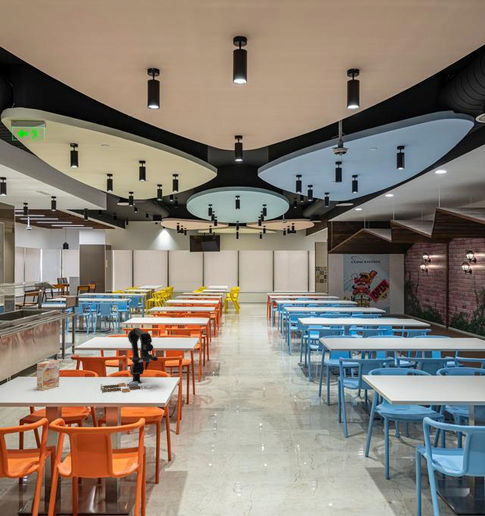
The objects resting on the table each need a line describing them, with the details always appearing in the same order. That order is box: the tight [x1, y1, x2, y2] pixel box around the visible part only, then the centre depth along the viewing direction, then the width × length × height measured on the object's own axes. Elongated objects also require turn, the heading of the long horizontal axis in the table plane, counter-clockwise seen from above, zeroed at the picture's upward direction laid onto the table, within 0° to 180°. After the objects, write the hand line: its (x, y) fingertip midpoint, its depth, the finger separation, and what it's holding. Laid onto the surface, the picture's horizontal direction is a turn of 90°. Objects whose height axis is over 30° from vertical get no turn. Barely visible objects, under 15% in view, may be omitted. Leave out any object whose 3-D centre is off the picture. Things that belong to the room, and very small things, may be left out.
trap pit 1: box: [118, 382, 127, 388], centre depth 365 cm, size 5×5×2 cm
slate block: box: [128, 381, 139, 388], centre depth 360 cm, size 6×6×4 cm
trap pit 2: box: [121, 387, 131, 393], centre depth 349 cm, size 5×5×2 cm
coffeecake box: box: [36, 359, 60, 391], centre depth 358 cm, size 15×7×20 cm, turn 153°
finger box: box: [100, 383, 141, 394], centre depth 356 cm, size 13×27×3 cm, turn 112°
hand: (144, 370), depth 363 cm, fingers closed
